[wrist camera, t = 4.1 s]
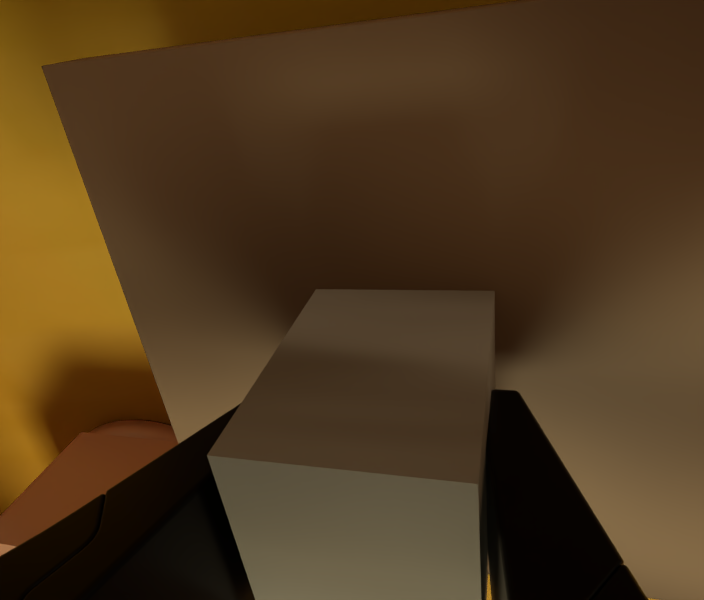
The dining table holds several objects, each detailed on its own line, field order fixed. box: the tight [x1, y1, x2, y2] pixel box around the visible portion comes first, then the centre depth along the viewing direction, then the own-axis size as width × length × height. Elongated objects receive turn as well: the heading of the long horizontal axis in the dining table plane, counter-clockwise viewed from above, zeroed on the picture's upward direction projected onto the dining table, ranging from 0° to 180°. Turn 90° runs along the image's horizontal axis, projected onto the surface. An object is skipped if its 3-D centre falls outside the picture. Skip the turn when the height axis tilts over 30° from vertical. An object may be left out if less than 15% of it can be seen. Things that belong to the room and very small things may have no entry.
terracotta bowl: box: [0, 420, 178, 556], centre depth 19 cm, size 9×9×5 cm
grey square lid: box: [42, 0, 704, 600], centre depth 9 cm, size 11×11×5 cm
